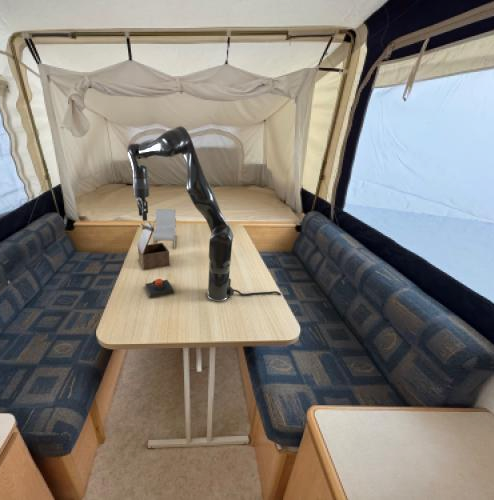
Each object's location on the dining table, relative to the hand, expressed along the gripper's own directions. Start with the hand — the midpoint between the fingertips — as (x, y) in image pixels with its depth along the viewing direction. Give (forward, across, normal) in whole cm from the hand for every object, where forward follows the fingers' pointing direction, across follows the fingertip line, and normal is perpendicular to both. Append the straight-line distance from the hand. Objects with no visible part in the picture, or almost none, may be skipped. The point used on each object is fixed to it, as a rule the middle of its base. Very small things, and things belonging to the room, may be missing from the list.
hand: (143, 218), depth 138 cm
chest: (+27, 0, -5) cm, 28 cm away
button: (+24, -28, 0) cm, 37 cm away
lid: (+11, 0, -1) cm, 11 cm away
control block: (+27, -28, 0) cm, 39 cm away
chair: (+28, +26, -20) cm, 43 cm away
